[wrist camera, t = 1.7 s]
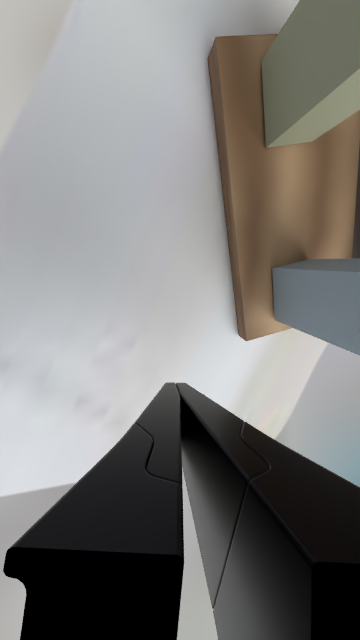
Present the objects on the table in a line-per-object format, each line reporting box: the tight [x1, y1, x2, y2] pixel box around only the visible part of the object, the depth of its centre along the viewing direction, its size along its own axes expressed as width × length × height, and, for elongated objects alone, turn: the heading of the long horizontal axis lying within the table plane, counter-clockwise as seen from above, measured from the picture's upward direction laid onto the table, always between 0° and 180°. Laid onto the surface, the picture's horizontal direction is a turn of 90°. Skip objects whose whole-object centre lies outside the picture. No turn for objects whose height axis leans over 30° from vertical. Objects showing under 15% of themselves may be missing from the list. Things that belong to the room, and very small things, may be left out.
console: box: [208, 34, 360, 341], centre depth 17 cm, size 15×22×6 cm
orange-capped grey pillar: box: [272, 258, 360, 355], centre depth 15 cm, size 4×5×10 cm
